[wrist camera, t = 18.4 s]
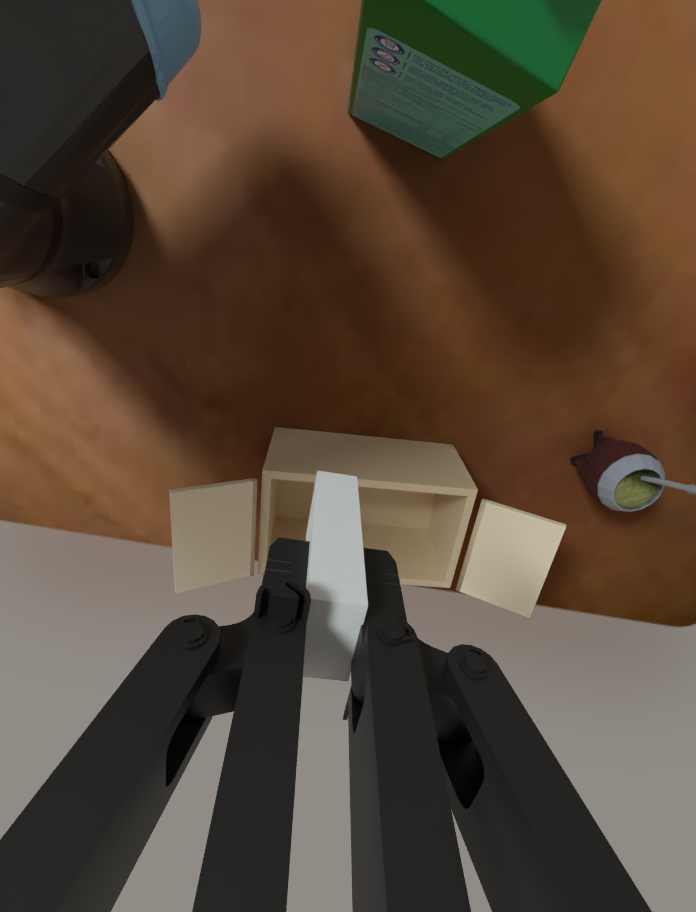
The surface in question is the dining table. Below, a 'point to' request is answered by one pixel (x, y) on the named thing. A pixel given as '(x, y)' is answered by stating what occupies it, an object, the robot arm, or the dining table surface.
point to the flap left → (213, 533)
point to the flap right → (509, 557)
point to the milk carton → (460, 64)
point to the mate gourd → (623, 474)
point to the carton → (374, 497)
